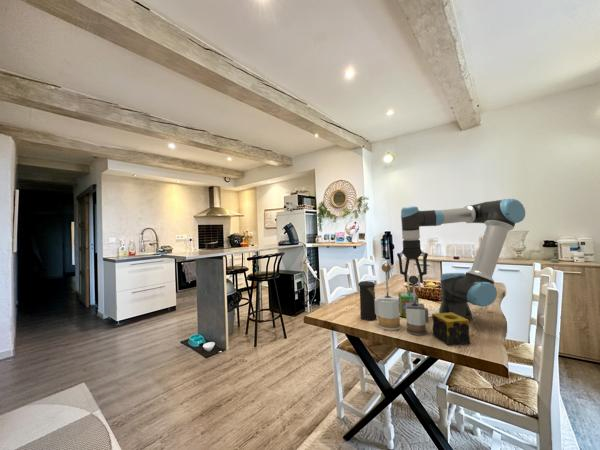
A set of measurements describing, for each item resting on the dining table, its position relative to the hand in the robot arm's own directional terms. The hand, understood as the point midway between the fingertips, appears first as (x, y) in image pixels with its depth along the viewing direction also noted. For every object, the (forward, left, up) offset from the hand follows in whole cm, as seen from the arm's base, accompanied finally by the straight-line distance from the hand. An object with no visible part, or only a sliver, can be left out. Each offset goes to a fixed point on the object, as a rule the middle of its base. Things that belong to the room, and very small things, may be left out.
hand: (413, 289), depth 116 cm
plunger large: (+12, -4, -6) cm, 14 cm away
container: (+23, -13, -20) cm, 33 cm away
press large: (+12, -4, -20) cm, 24 cm away
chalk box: (+2, -23, -20) cm, 31 cm away
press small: (0, 0, -20) cm, 20 cm away
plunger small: (0, 0, -10) cm, 10 cm away
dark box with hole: (-13, +5, -20) cm, 24 cm away
